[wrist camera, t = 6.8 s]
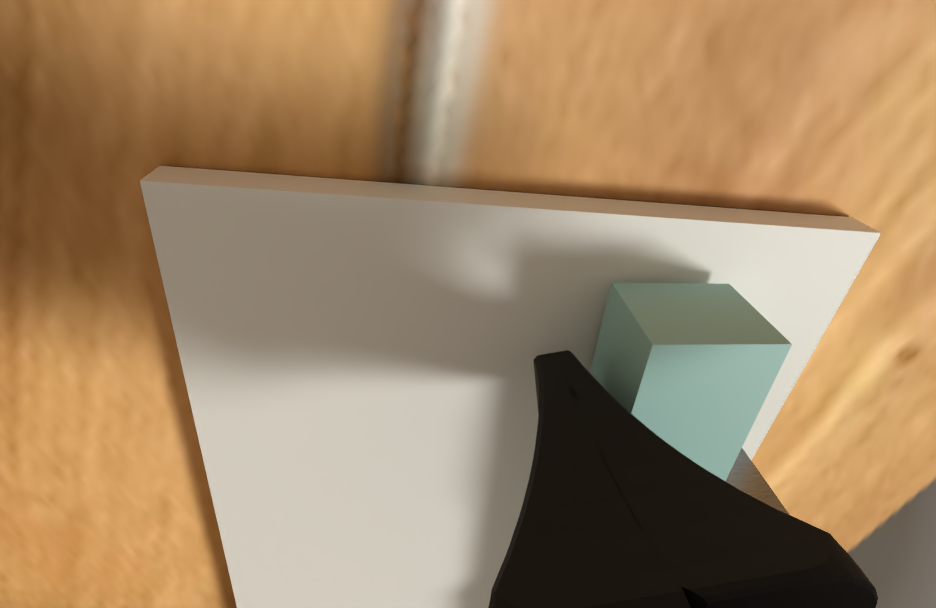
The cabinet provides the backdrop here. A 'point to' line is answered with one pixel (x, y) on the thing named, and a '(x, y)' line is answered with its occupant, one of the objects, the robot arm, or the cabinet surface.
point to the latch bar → (689, 364)
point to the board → (423, 357)
